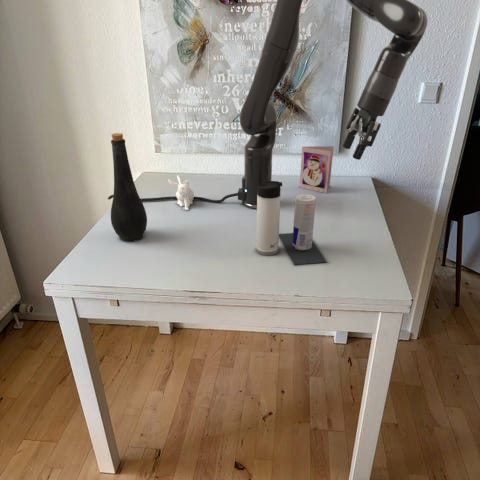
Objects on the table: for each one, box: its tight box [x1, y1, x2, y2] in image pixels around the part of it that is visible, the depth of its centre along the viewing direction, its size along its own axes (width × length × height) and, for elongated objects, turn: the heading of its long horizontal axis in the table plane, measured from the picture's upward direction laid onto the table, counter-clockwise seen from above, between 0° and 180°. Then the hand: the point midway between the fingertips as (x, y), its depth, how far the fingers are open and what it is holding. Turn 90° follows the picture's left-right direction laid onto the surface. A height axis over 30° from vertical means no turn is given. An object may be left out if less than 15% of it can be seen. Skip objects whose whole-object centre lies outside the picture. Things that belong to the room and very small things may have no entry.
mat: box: [279, 232, 327, 266], centre depth 142 cm, size 20×9×1 cm, turn 9°
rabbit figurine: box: [167, 175, 195, 211], centre depth 169 cm, size 12×8×10 cm, turn 170°
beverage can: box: [292, 193, 317, 250], centre depth 137 cm, size 6×6×15 cm
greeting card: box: [299, 146, 335, 194], centre depth 180 cm, size 11×7×15 cm, turn 55°
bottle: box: [110, 132, 148, 243], centre depth 140 cm, size 11×11×30 cm
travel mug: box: [256, 180, 283, 256], centre depth 135 cm, size 6×7×20 cm
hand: (350, 153), depth 135 cm, fingers open, 8 cm apart
